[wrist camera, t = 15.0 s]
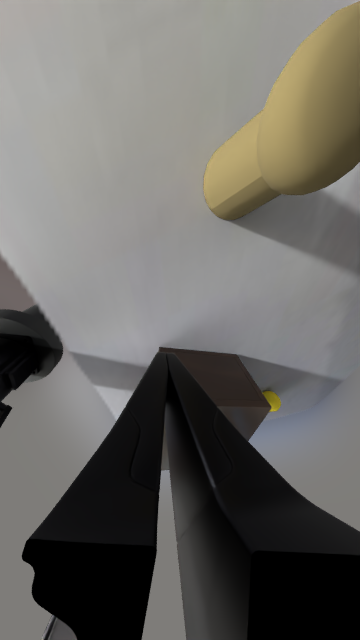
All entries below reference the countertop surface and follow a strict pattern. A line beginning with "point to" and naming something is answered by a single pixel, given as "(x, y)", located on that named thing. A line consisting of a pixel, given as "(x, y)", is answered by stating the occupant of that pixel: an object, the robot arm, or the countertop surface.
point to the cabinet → (224, 390)
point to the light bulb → (272, 400)
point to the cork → (296, 126)
